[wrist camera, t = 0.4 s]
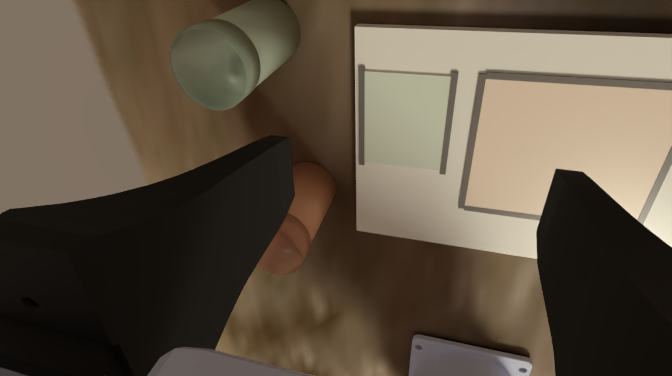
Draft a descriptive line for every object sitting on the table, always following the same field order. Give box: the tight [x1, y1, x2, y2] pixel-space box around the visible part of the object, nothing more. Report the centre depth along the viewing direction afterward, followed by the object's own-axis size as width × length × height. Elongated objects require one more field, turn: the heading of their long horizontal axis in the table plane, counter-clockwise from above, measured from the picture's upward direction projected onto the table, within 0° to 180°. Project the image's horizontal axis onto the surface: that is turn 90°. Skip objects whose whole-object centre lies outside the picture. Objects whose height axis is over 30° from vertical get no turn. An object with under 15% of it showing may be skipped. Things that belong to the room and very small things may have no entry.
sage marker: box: [170, 0, 300, 110], centre depth 19 cm, size 3×3×6 cm
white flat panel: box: [355, 23, 672, 259], centre depth 20 cm, size 12×24×1 cm, turn 92°
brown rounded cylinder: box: [256, 162, 336, 275], centre depth 24 cm, size 3×3×6 cm
